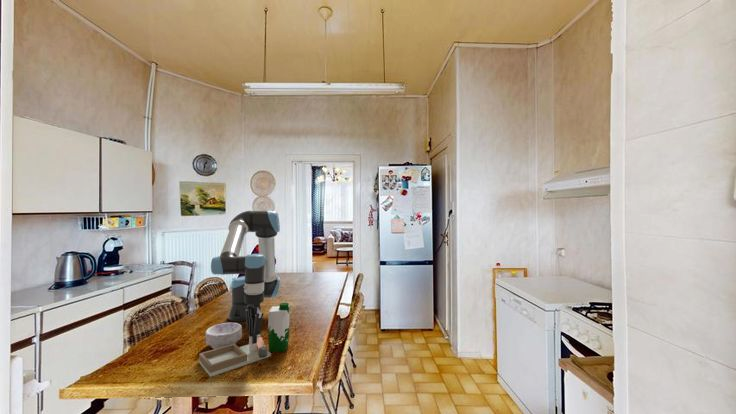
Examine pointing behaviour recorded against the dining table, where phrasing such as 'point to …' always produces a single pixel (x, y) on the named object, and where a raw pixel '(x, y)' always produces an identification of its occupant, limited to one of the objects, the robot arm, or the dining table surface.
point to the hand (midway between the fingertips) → (252, 350)
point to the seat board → (227, 358)
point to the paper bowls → (223, 334)
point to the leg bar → (261, 347)
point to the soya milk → (278, 328)
